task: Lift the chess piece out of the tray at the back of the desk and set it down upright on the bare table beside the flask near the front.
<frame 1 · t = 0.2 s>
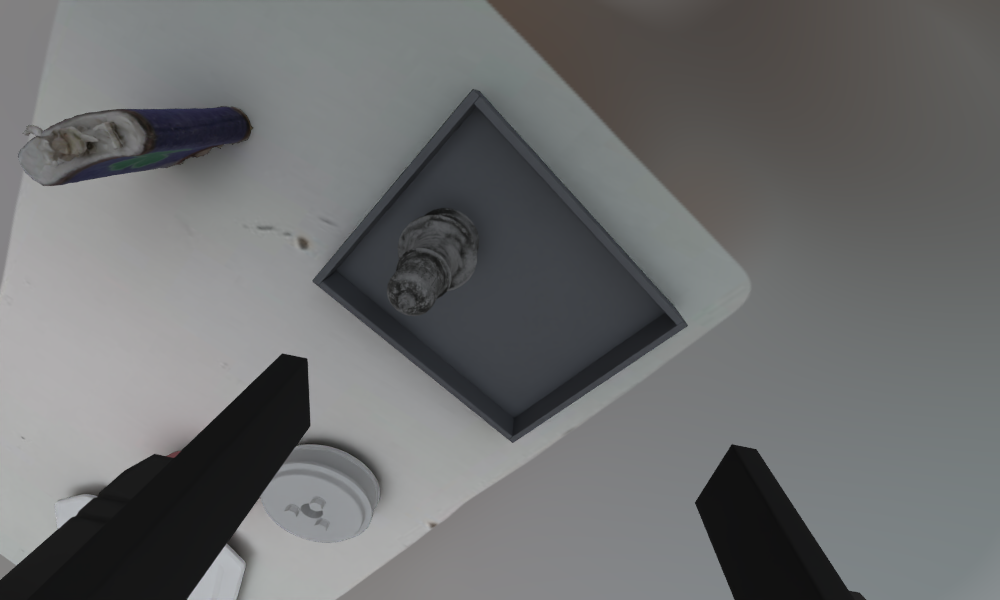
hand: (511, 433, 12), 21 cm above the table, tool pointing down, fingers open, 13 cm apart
chess piece: (447, 239, 32), resting on tray
flask: (201, 136, 30), on the table
grey pulley wheel: (331, 475, 46), on the table
tray: (500, 288, 33), on the table
plate: (163, 552, 56), on the table
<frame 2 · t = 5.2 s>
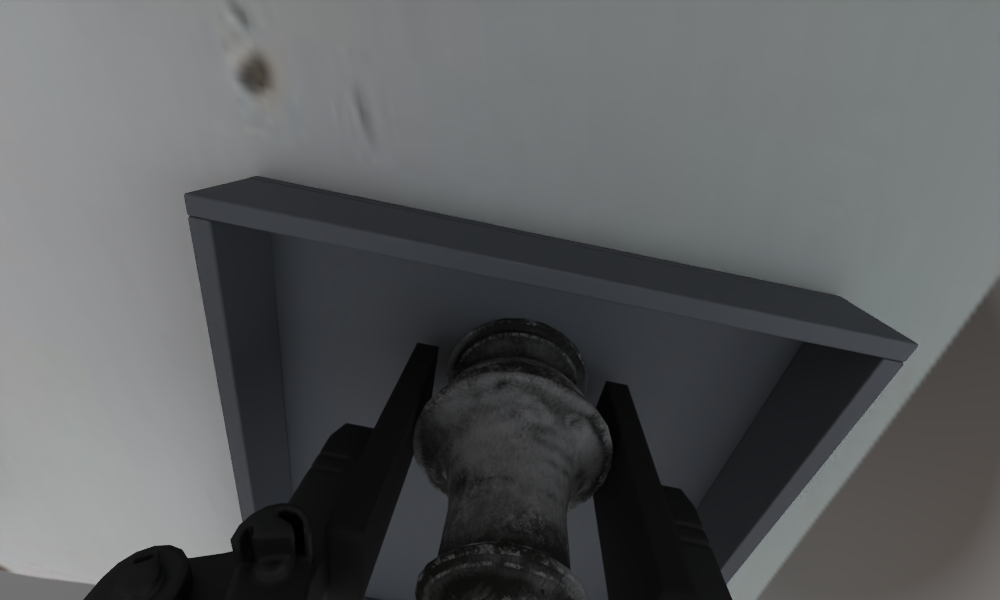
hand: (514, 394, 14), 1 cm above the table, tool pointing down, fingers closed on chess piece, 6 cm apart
chess piece: (516, 376, 15), resting on tray, touching gripper
tray: (489, 478, 18), on the table
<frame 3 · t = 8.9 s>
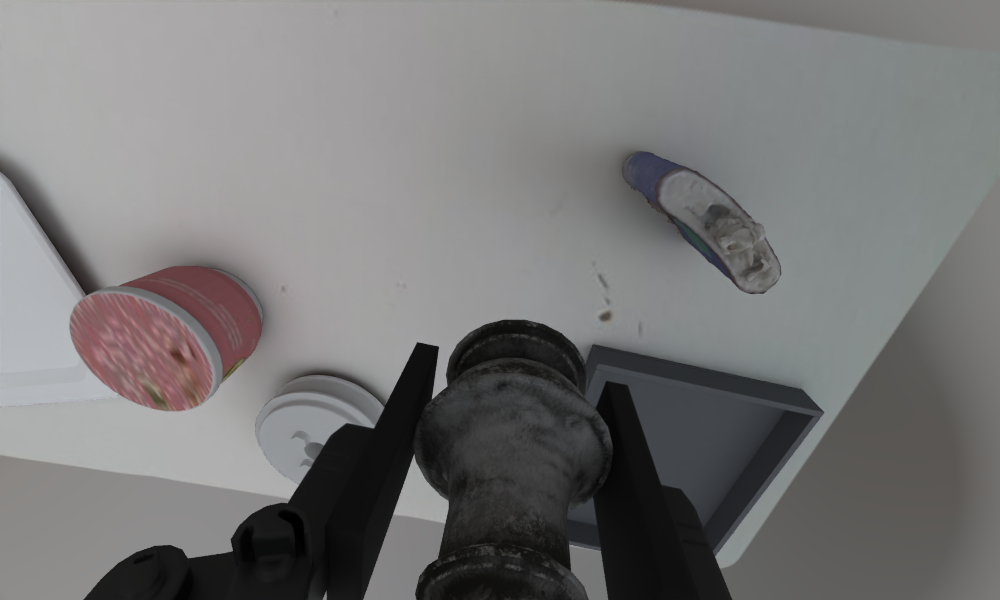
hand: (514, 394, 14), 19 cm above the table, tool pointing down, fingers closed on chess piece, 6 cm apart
chess piece: (516, 377, 15), point 17 cm above the table, touching gripper
container: (223, 306, 35), on the table
flask: (671, 198, 28), on the table
grey pulley wheel: (338, 417, 40), on the table
tray: (649, 458, 39), on the table
when the fingers open (1 cm above the table, at t = 12.7 s): chess piece stays where it is, on the table.
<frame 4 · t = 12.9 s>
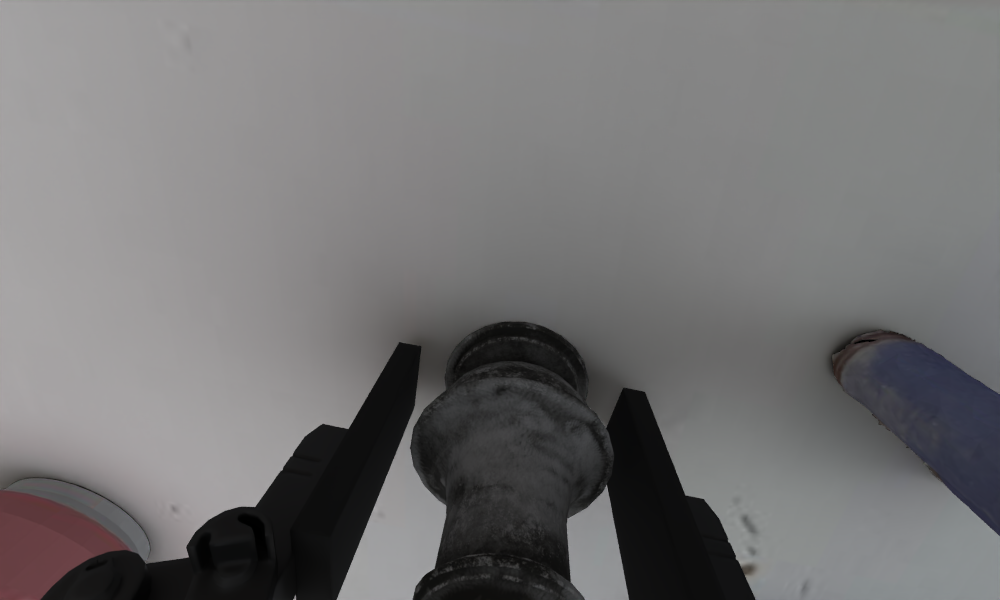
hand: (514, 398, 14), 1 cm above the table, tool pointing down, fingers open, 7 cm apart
chess piece: (515, 380, 15), on the table
container: (83, 523, 21), on the table
flask: (921, 407, 14), on the table
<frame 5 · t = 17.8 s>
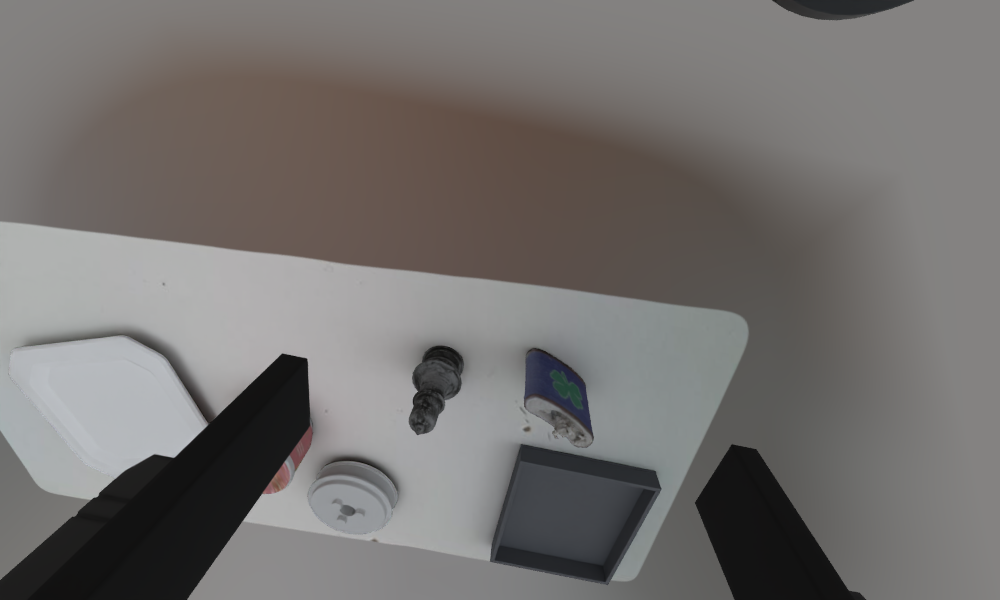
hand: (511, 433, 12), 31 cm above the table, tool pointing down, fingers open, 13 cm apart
chess piece: (443, 362, 49), on the table
container: (287, 419, 56), on the table
flask: (557, 369, 48), on the table
grey pulley wheel: (359, 483, 61), on the table
tray: (566, 510, 59), on the table
plate: (134, 405, 57), on the table
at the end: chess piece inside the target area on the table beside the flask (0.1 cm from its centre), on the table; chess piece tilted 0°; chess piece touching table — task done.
